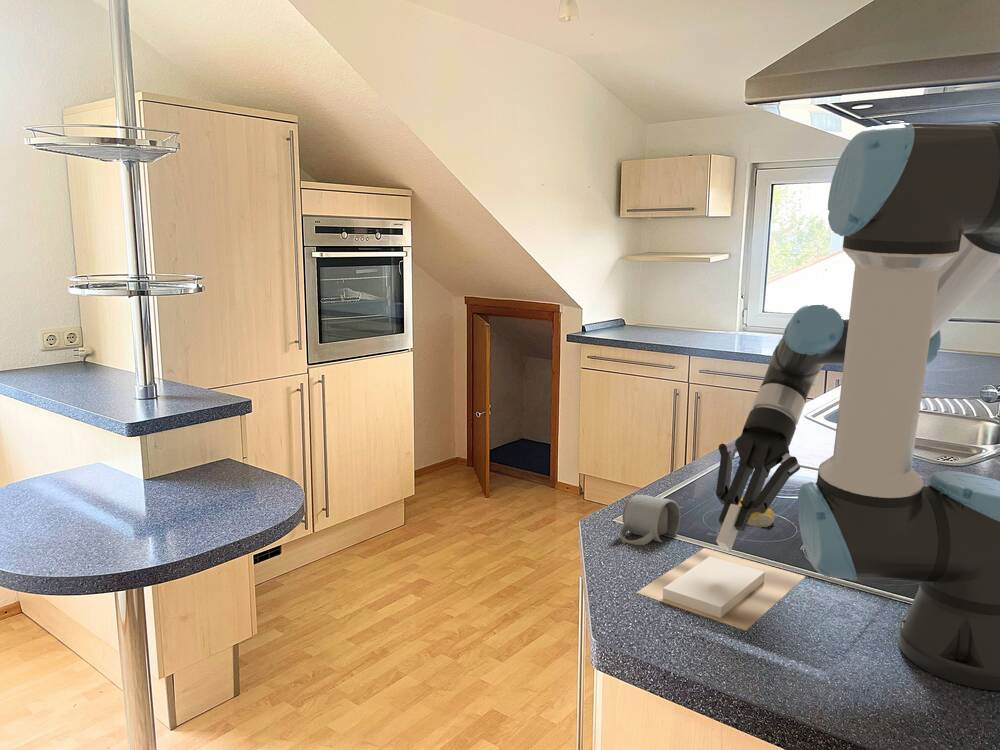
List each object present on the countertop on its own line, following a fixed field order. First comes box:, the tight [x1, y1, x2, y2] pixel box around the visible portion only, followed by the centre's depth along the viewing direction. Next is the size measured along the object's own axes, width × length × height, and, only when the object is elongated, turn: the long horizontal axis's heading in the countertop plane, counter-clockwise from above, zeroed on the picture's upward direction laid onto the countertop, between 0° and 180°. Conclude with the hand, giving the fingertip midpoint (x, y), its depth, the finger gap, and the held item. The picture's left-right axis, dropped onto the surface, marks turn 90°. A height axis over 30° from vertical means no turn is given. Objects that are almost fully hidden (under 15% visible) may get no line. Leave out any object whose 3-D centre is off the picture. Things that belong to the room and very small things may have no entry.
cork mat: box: [636, 547, 806, 631], centre depth 115 cm, size 22×17×1 cm
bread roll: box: [738, 497, 776, 529], centre depth 144 cm, size 8×9×4 cm
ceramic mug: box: [619, 494, 681, 546], centre depth 134 cm, size 11×8×8 cm
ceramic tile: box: [663, 556, 765, 618], centre depth 113 cm, size 2×9×15 cm
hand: (723, 546), depth 114 cm, fingers closed
